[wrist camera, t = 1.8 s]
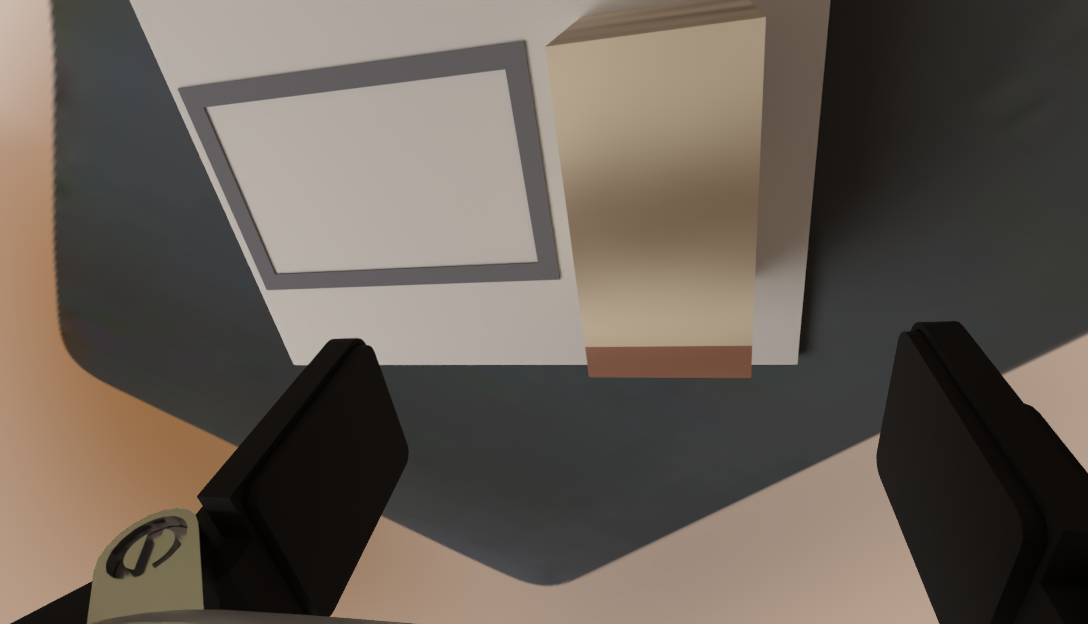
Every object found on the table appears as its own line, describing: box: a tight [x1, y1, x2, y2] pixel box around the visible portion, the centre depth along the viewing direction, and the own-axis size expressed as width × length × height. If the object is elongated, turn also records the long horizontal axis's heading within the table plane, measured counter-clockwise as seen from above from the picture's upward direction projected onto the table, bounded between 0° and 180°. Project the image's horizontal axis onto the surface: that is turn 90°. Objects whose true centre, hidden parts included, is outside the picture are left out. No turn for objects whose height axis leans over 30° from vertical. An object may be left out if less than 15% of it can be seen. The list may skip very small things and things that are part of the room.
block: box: [545, 0, 766, 378], centre depth 19 cm, size 10×5×6 cm, turn 8°
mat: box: [130, 0, 830, 365], centre depth 23 cm, size 24×18×1 cm
